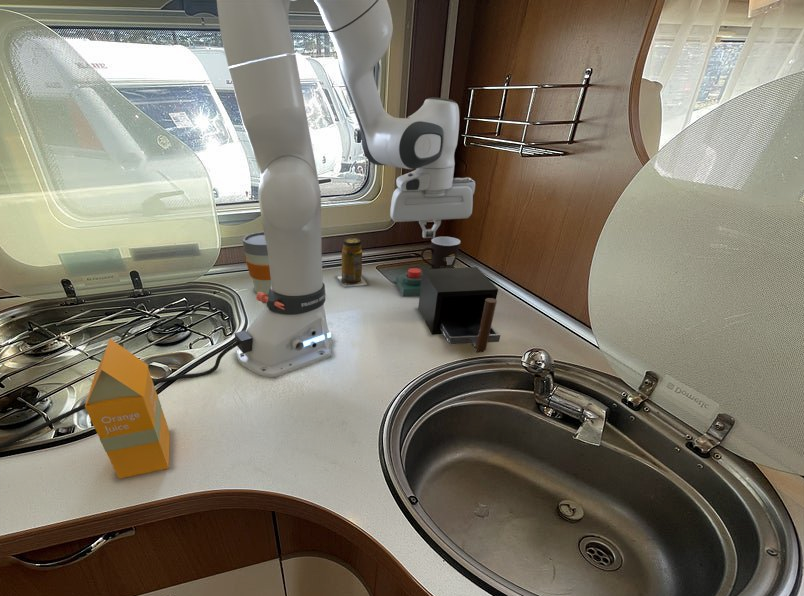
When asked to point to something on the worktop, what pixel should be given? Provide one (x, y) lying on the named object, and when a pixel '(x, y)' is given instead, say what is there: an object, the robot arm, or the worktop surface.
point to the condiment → (351, 263)
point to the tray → (472, 328)
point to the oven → (453, 294)
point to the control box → (408, 285)
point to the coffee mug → (443, 252)
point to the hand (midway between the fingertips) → (428, 237)
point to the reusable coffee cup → (258, 261)
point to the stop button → (414, 273)
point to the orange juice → (128, 414)
